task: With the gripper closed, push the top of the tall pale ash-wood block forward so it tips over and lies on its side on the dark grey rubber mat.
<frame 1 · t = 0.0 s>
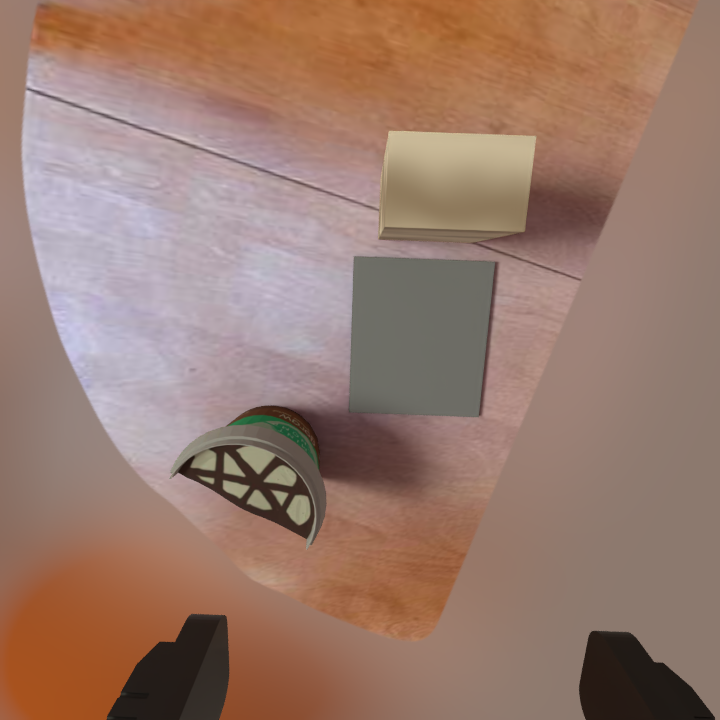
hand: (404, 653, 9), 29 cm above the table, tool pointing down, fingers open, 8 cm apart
ash block: (427, 210, 35), on the table
food container: (285, 427, 40), on the table
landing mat: (418, 339, 37), on the table
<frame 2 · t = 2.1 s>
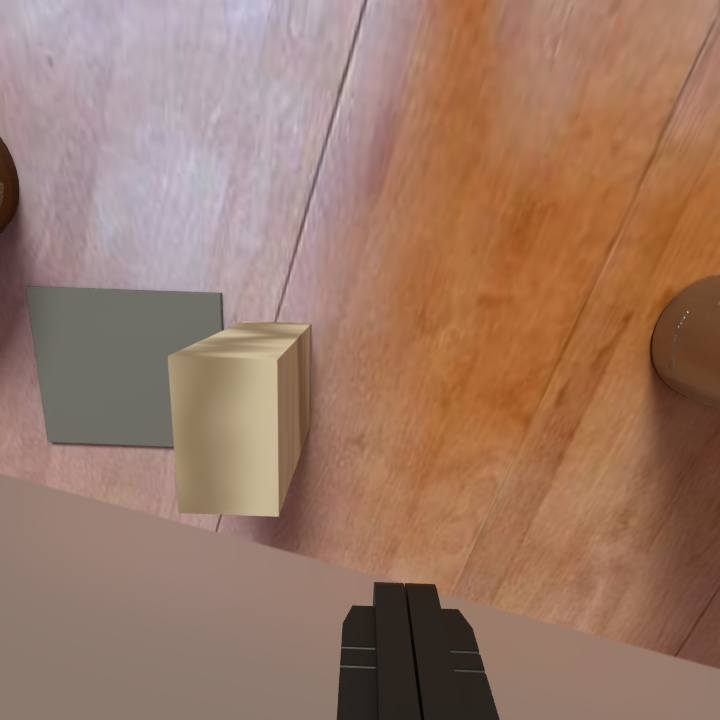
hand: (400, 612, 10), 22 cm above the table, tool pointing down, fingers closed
ash block: (277, 374, 31), on the table
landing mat: (132, 369, 31), on the table
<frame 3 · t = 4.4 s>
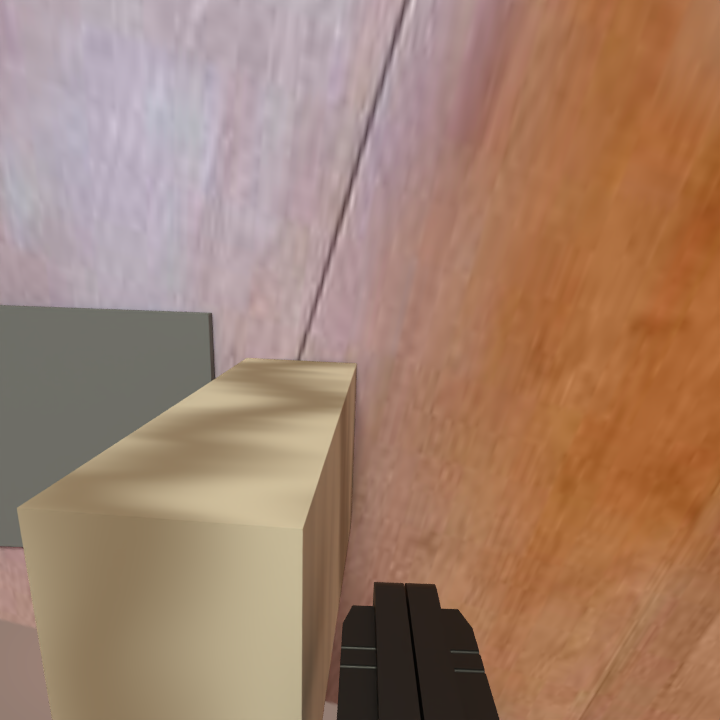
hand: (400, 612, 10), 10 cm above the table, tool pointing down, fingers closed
ash block: (301, 443, 20), on the table, touching gripper
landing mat: (70, 433, 20), on the table
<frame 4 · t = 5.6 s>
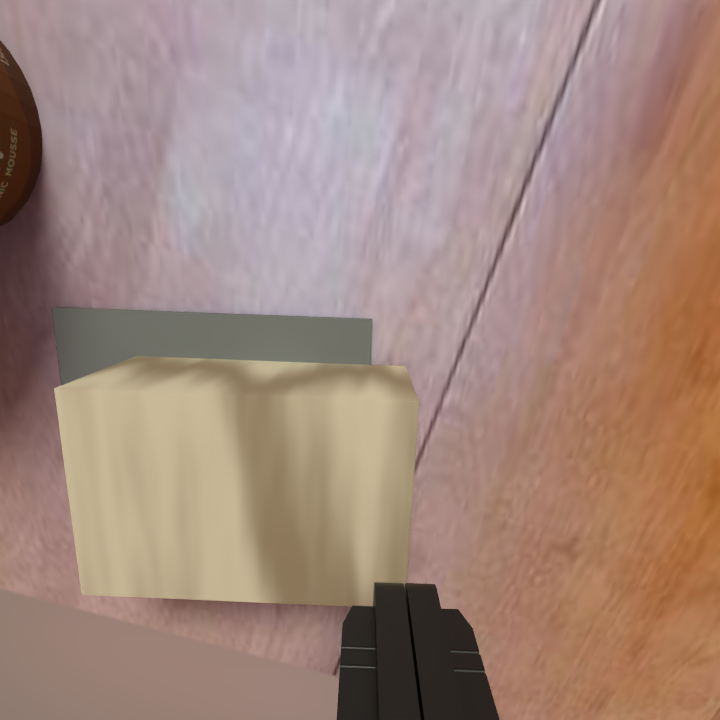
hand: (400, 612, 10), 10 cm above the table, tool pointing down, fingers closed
ash block: (405, 476, 17), point 3 cm above the table, tilted 90°, touching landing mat
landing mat: (219, 438, 20), on the table
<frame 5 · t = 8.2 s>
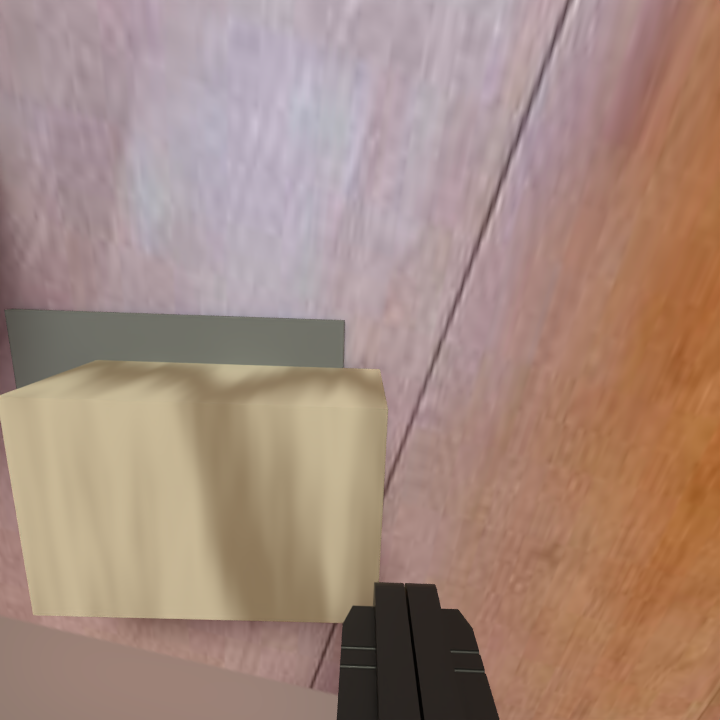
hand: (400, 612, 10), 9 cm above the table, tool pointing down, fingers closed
ash block: (378, 484, 16), point 3 cm above the table, tilted 90°, touching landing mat
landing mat: (187, 446, 19), on the table
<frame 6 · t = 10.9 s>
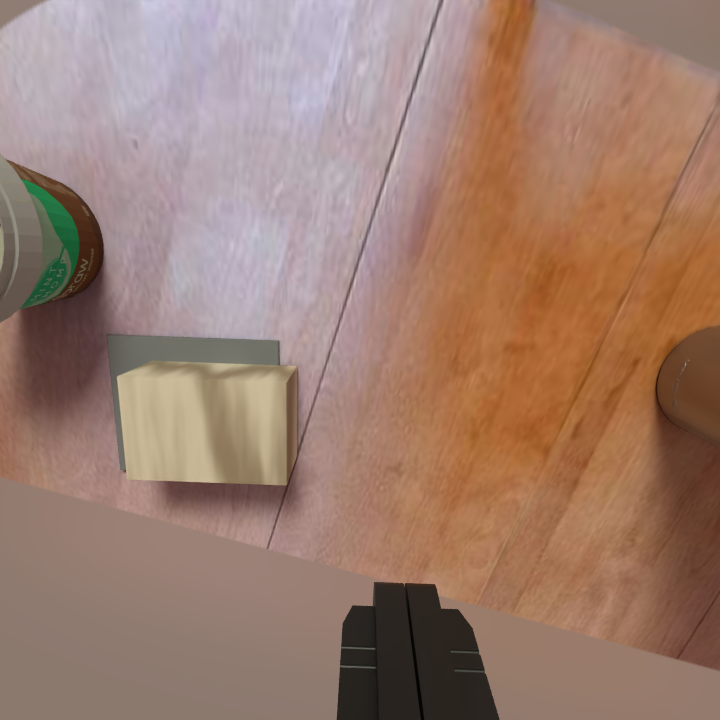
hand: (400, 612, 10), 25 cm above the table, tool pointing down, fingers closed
ash block: (292, 422, 33), point 3 cm above the table, tilted 90°, touching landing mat
food container: (78, 258, 33), on the table
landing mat: (198, 406, 36), on the table
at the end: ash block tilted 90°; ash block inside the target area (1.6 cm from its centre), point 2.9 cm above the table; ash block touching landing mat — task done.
